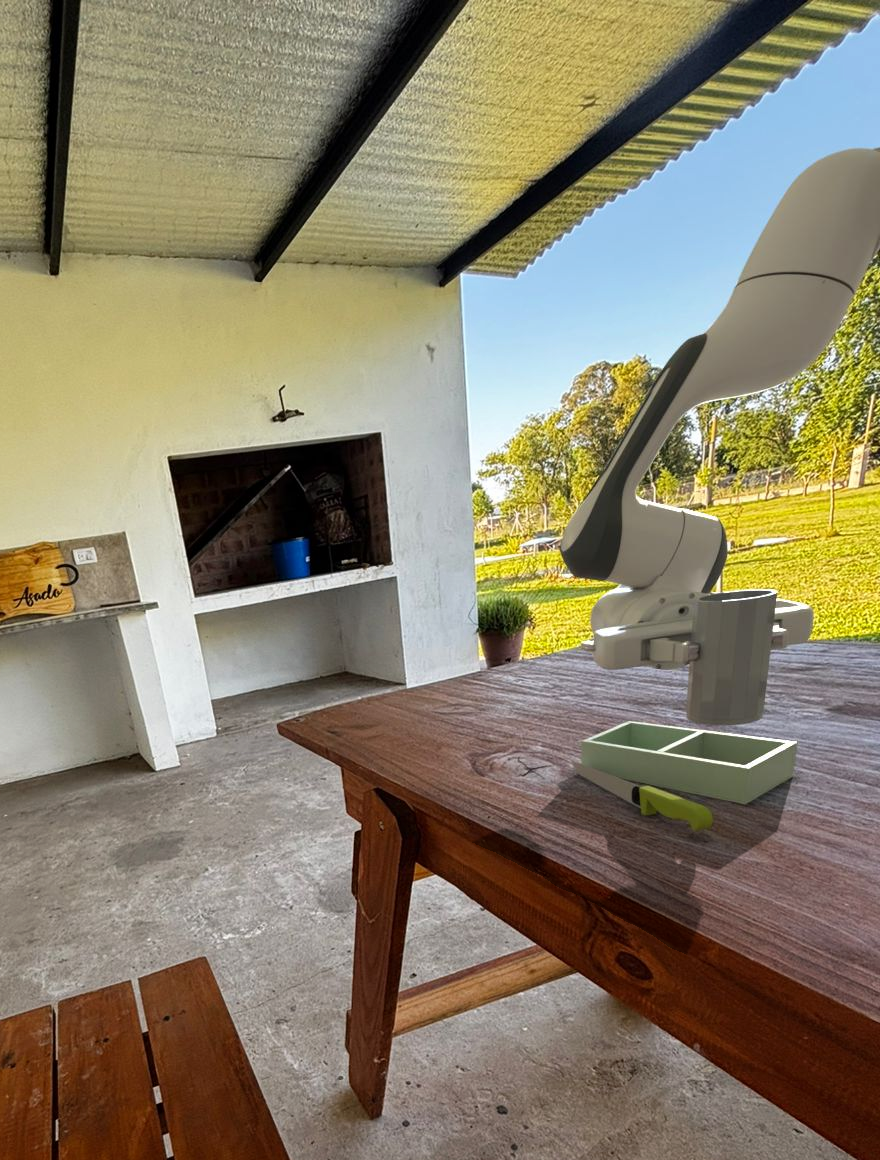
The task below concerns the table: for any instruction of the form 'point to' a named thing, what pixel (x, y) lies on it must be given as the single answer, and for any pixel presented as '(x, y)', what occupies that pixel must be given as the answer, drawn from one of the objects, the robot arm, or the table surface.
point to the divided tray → (692, 759)
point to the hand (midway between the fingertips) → (735, 647)
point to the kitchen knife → (650, 798)
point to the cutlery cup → (730, 656)
